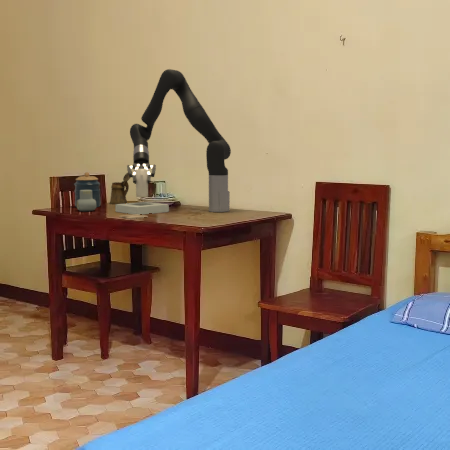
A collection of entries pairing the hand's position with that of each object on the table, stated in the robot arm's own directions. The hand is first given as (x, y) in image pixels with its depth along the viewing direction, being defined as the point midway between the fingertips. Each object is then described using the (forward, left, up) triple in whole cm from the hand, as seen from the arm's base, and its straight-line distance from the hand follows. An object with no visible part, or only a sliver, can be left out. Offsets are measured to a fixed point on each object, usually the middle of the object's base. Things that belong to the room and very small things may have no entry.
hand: (141, 182), depth 290 cm
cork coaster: (-14, +14, -14) cm, 24 cm away
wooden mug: (+40, -15, -14) cm, 45 cm away
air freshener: (+23, +16, -14) cm, 32 cm away
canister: (+39, +6, -14) cm, 42 cm away
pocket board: (+1, -1, -14) cm, 14 cm away
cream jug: (0, 0, -7) cm, 7 cm away
